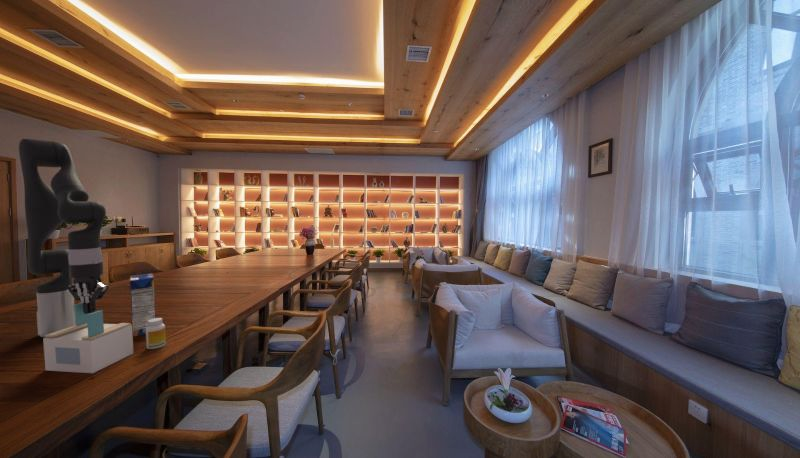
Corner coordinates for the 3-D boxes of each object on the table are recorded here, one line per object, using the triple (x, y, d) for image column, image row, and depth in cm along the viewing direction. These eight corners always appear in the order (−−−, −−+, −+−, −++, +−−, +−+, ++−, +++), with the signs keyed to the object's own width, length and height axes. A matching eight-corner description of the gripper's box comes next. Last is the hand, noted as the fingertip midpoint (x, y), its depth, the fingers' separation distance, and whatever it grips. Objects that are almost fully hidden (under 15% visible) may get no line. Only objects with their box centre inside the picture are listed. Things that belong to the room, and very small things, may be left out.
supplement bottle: (169, 343, 104) (168, 318, 104) (152, 350, 99) (151, 323, 99) (159, 341, 106) (158, 316, 106) (142, 348, 101) (141, 321, 100)
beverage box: (133, 336, 110) (129, 280, 109) (133, 327, 118) (130, 275, 117) (156, 331, 115) (153, 277, 113) (155, 323, 123) (152, 273, 121)
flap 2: (81, 339, 85) (80, 314, 85) (121, 324, 97) (119, 302, 96) (92, 339, 85) (90, 315, 85) (130, 324, 96) (129, 302, 96)
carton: (45, 370, 87) (42, 338, 86) (91, 351, 99) (89, 323, 98) (92, 373, 85) (90, 341, 85) (133, 353, 97) (131, 324, 97)
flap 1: (97, 322, 97) (94, 300, 97) (54, 336, 86) (51, 312, 86) (88, 322, 98) (84, 301, 97) (44, 337, 87) (41, 313, 86)
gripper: (53, 263, 91) (57, 316, 92) (91, 264, 90) (94, 317, 91) (81, 259, 98) (85, 308, 99) (116, 260, 97) (119, 309, 98)
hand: (89, 313), depth 95 cm, fingers closed
